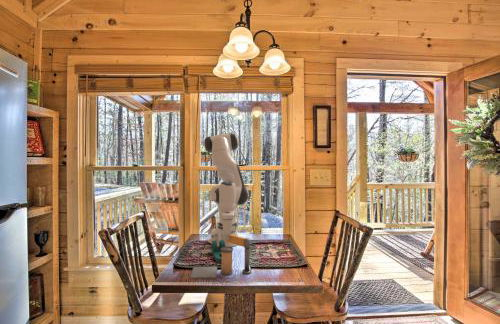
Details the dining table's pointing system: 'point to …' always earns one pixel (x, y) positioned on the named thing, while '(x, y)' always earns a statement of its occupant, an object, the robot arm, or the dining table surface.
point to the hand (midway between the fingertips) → (227, 239)
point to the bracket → (217, 250)
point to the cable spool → (226, 261)
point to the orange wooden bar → (239, 241)
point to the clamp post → (247, 262)
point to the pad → (203, 272)
